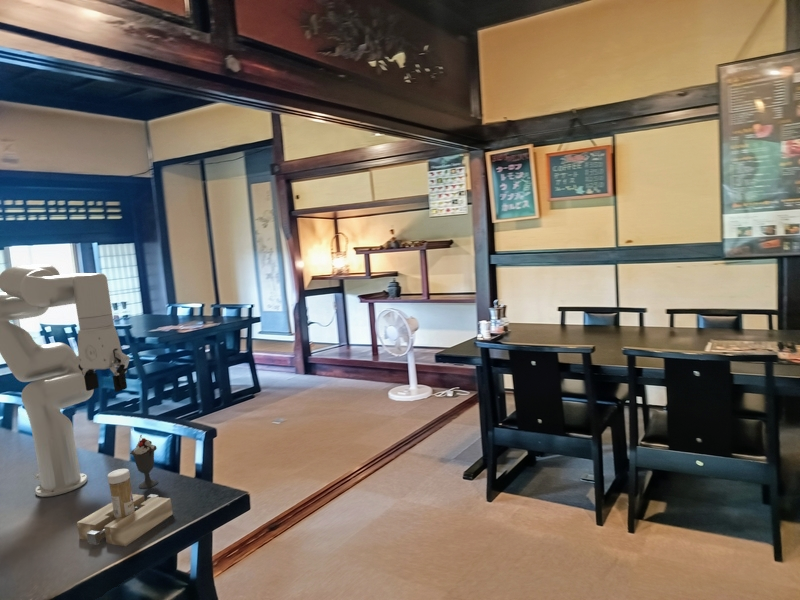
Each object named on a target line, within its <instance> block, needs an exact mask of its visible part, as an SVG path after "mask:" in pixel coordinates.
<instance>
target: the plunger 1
mask: <svg viewBox="0 0 800 600" xmlns="http://www.w3.org/2000/svg"><path fill="white" fill-rule="evenodd" d="M111 522H112V521H111ZM104 533H105V529H103V530H102V531H93V530H91V531H90V532H88V533H87V537H88V540H87V543H88V544H90V545H98V544H100V543H101V542H102V539H101V538H100V535H102V534H104Z"/></svg>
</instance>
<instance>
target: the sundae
mask: <svg viewBox="0 0 800 600" xmlns="http://www.w3.org/2000/svg"><path fill="white" fill-rule="evenodd" d="M139 439H140V440H139V441H138V442H137V444H136V447H135V448H134V449H132V450H131V451H130V453H129V455H132V456H133V459H134V462H135V465H136V468H137V471H138V472H139V473H142V474H144V481H143V482H141V483H140V484H139V485H138V489H141V490H142V489H143V490H147V489H150V488H154V487H156V485H158V483H159V481H158V480H156V479H151V477H150V472H151V471H152V470H153V468H154V466H155V451H156V450H157V449H158V448H157V446H156V445H154V444H152V441H151V440H149V439H146V438H145V437H142V434H140V435H139Z"/></svg>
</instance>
